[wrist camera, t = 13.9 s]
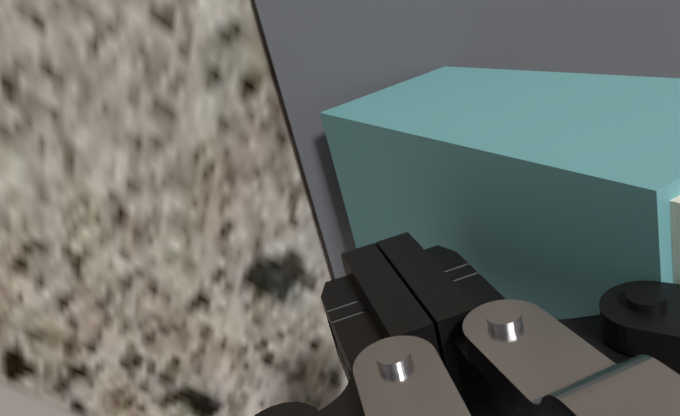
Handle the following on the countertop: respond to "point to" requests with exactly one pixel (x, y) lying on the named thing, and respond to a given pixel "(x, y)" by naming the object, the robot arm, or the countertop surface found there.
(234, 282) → the countertop surface
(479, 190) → the teal block
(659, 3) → the rubber mat
